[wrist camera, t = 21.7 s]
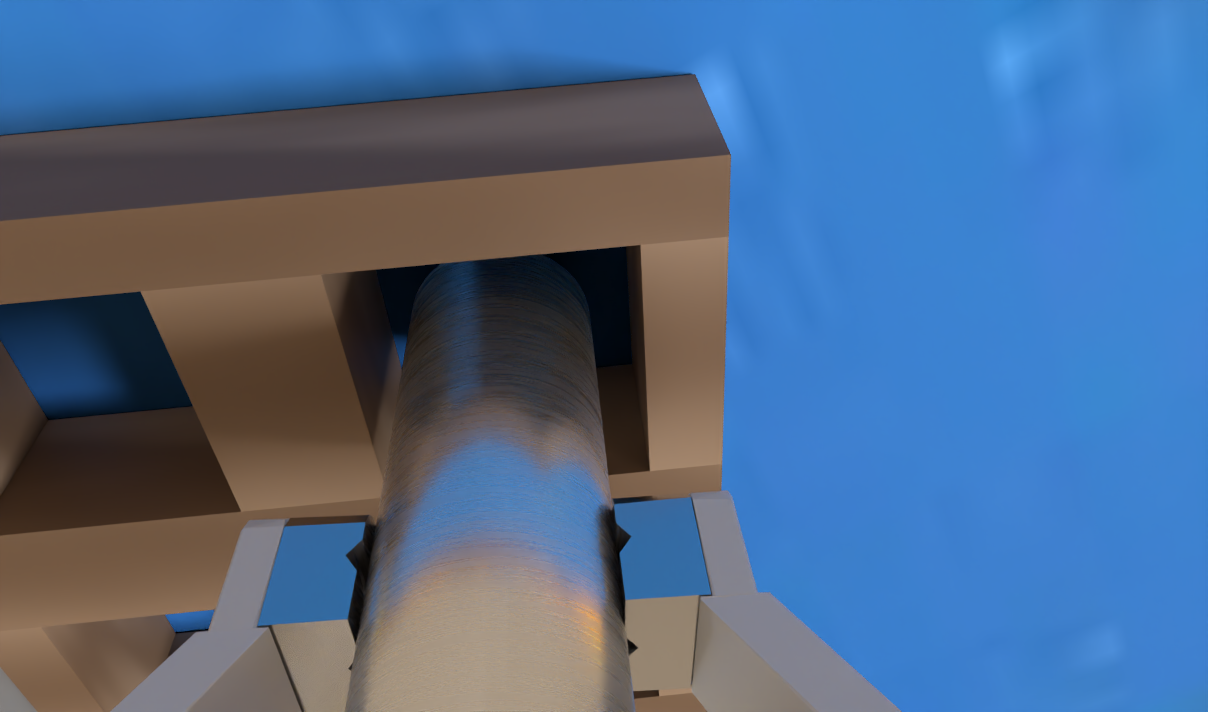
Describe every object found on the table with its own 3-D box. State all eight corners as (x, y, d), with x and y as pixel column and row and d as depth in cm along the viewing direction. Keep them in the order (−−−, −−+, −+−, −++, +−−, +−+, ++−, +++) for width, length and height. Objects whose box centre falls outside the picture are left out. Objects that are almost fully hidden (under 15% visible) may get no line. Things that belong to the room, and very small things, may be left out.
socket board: (694, 611, 23) (714, 720, 20) (143, 668, 22) (99, 785, 20) (695, 74, 14) (731, 154, 12) (-198, 153, 14) (-346, 252, 11)
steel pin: (586, 389, 16) (655, 1083, 8) (418, 392, 16) (320, 1111, 8) (592, 245, 14) (688, 956, 6) (403, 245, 14) (255, 986, 6)
